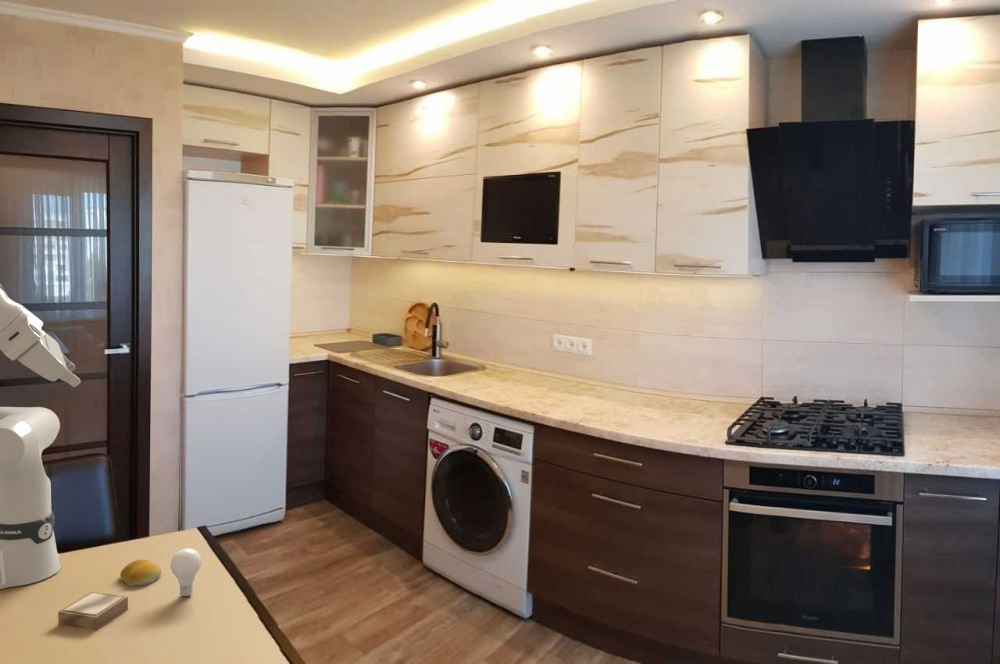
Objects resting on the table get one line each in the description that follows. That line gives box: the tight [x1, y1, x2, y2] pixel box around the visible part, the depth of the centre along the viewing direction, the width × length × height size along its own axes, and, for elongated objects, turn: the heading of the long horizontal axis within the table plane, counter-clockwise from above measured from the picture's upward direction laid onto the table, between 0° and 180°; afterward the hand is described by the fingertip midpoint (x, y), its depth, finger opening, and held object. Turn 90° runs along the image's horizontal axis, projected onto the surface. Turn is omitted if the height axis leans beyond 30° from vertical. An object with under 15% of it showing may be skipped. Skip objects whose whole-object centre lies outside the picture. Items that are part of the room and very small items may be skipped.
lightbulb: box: [170, 547, 202, 598], centre depth 156 cm, size 6×6×11 cm
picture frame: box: [57, 591, 129, 631], centre depth 146 cm, size 9×9×3 cm
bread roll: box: [120, 559, 162, 587], centre depth 164 cm, size 8×9×4 cm
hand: (75, 376), depth 144 cm, fingers open, 8 cm apart
